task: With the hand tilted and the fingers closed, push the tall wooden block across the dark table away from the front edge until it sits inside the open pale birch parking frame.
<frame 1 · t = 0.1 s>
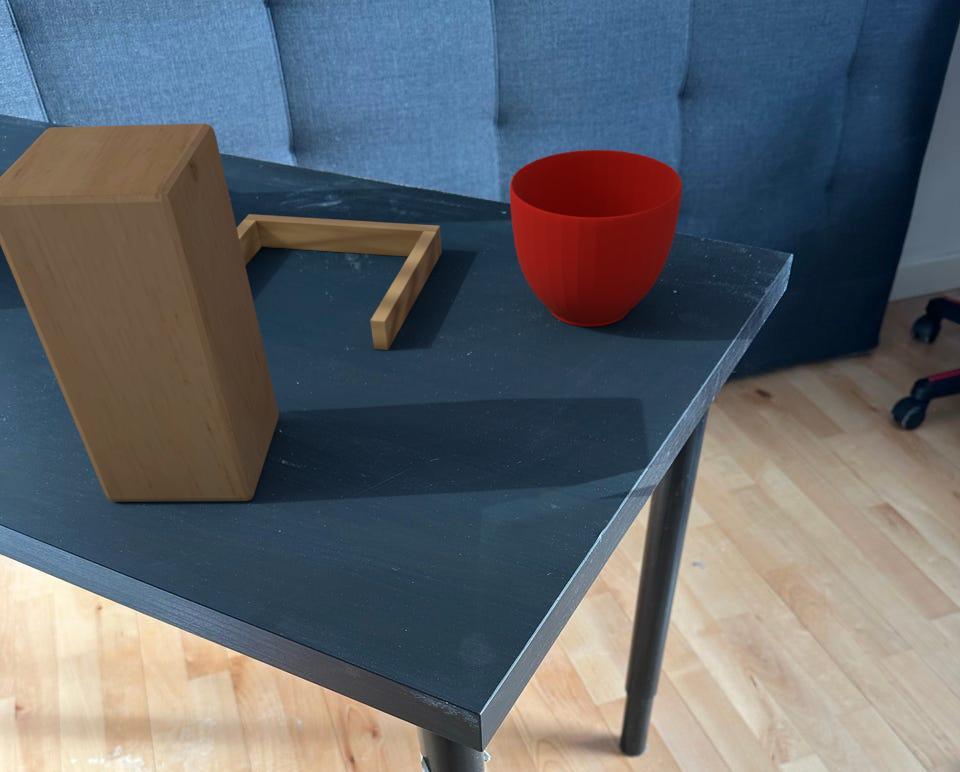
parking frame: (313, 293, 81), on the table
wooden block: (198, 461, 65), on the table
ceramic cup: (579, 298, 79), on the table
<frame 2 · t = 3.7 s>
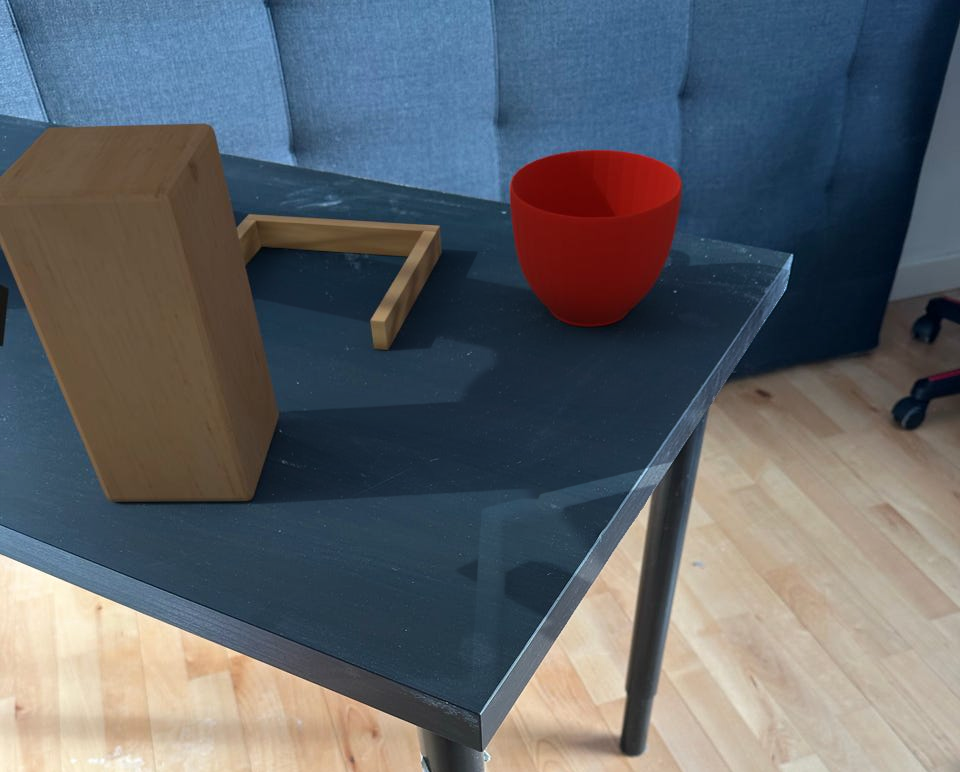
nothing on the table moved.
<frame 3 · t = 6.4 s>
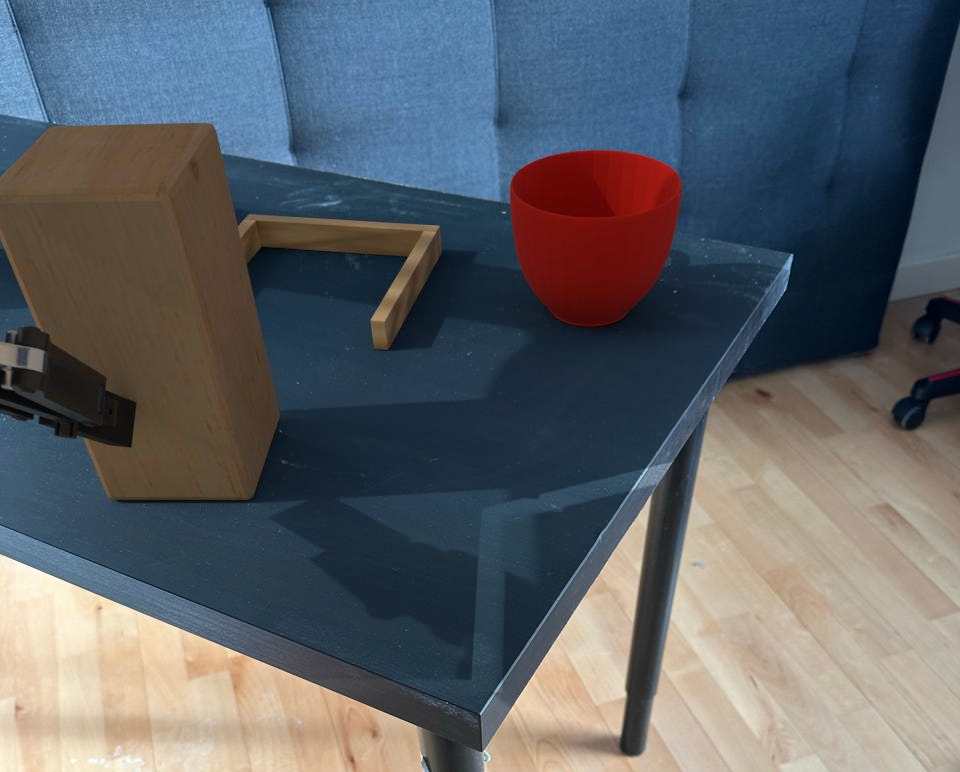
hand: (122, 423, 56), 7 cm above the table, tool tilted 45°, fingers closed
wooden block: (199, 459, 65), on the table, touching gripper
everything else where it was.
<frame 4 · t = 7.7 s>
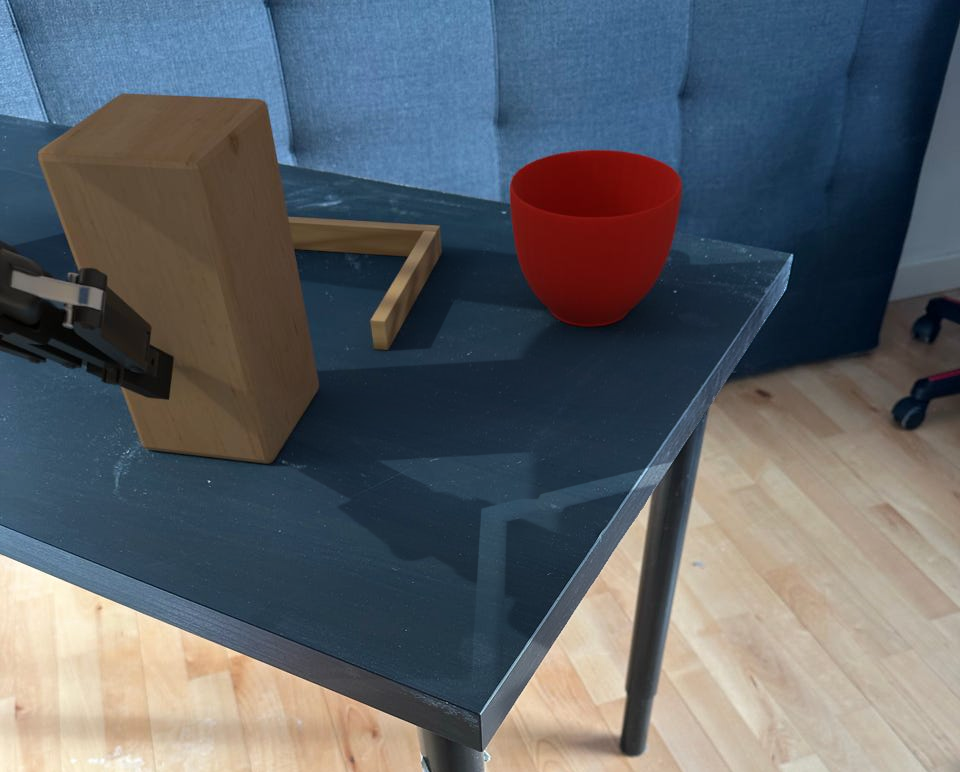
hand: (160, 377, 59), 7 cm above the table, tool tilted 45°, fingers closed
wooden block: (235, 421, 68), on the table, touching gripper
everything else where it was.
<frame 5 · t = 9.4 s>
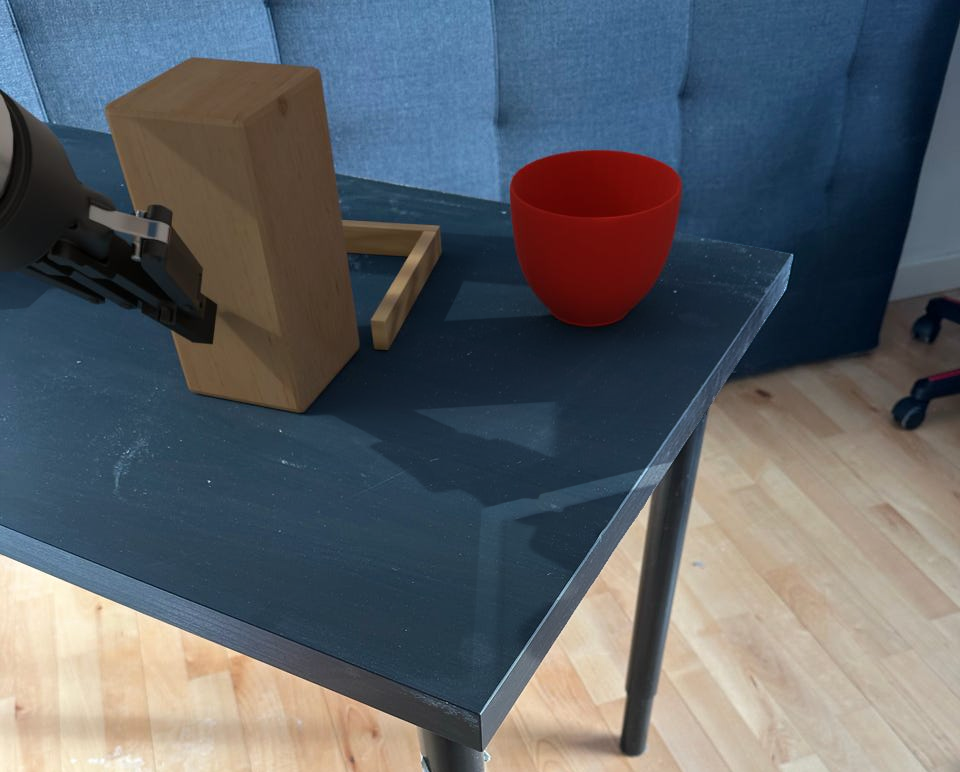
hand: (205, 323, 64), 7 cm above the table, tool tilted 45°, fingers closed
wooden block: (277, 373, 73), on the table, touching gripper
everything else where it was.
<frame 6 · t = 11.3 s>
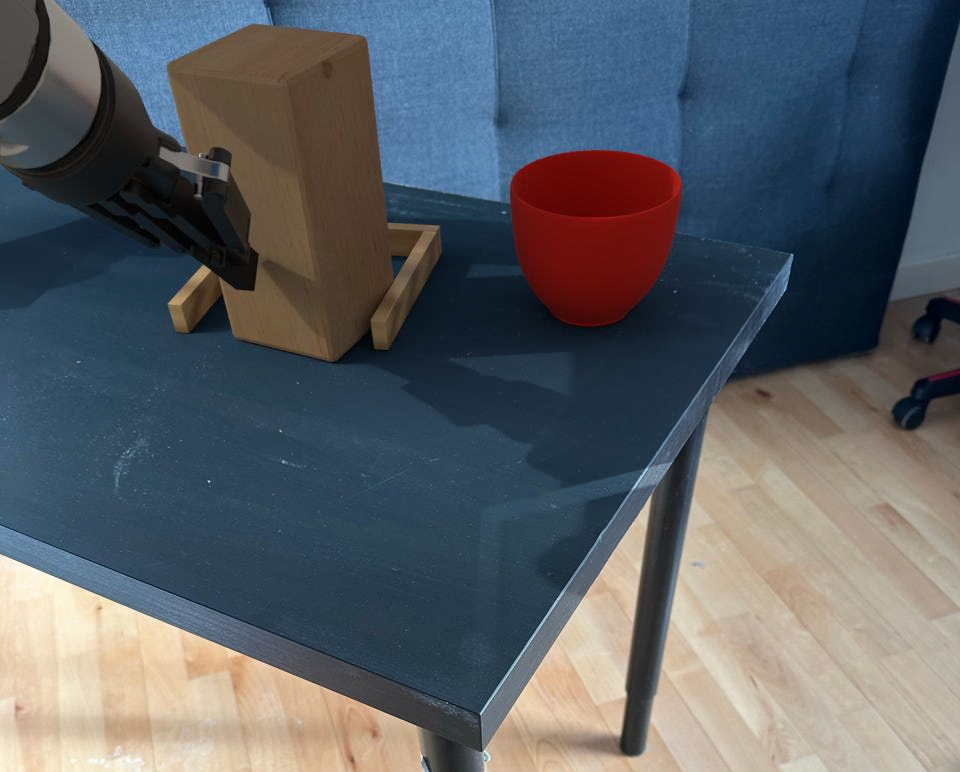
hand: (247, 271, 68), 7 cm above the table, tool tilted 45°, fingers closed
wooden block: (317, 325, 78), on the table, touching parking frame
everything else where it was.
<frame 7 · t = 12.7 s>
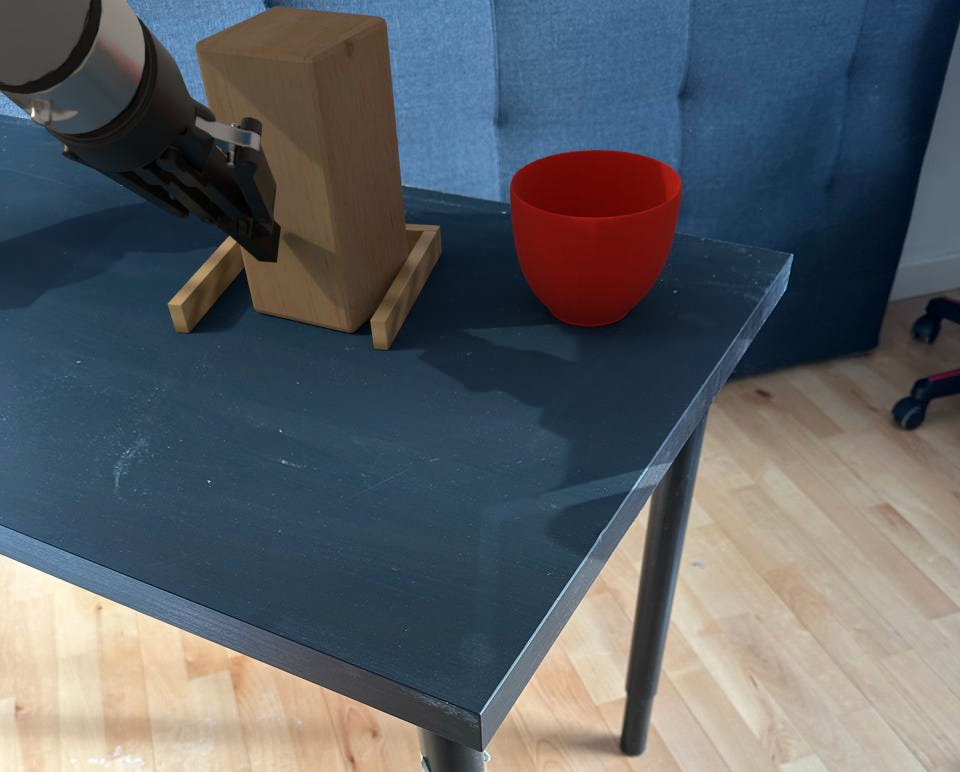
hand: (269, 244, 71), 7 cm above the table, tool tilted 45°, fingers closed
wooden block: (334, 299, 80), on the table, touching gripper
everything else where it was.
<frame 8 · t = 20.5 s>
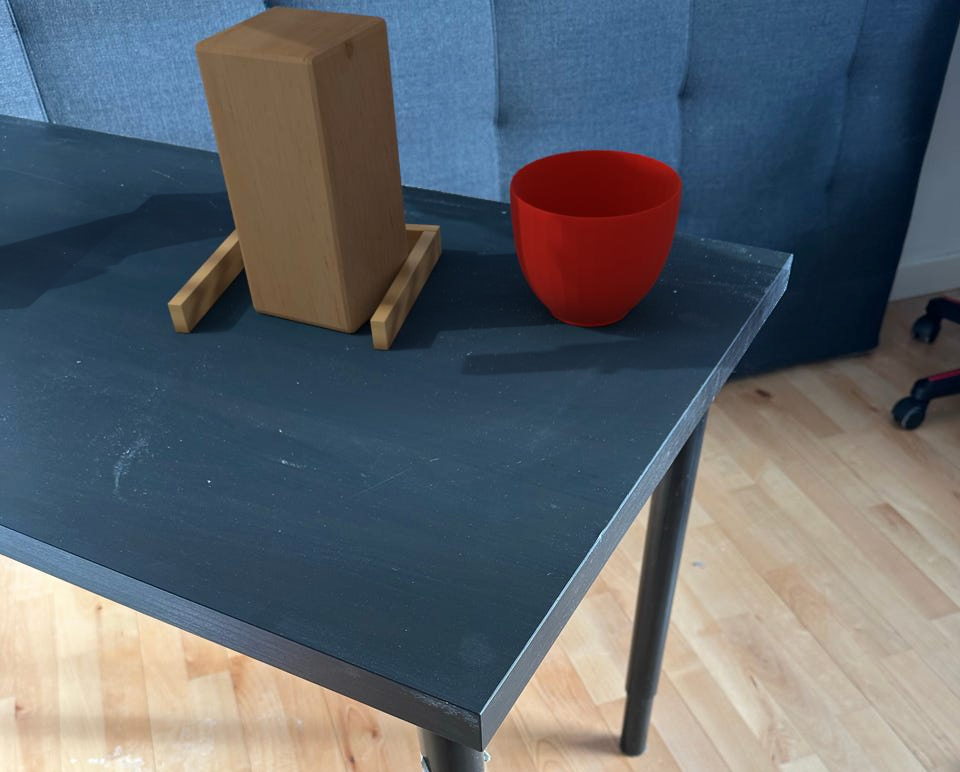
wooden block: (334, 299, 80), on the table
everything else where it was.
at the end: wooden block inside the target area on the parking frame (2.1 cm from its centre), point 0.0 cm above the parking frame's base; wooden block tilted 0° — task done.
